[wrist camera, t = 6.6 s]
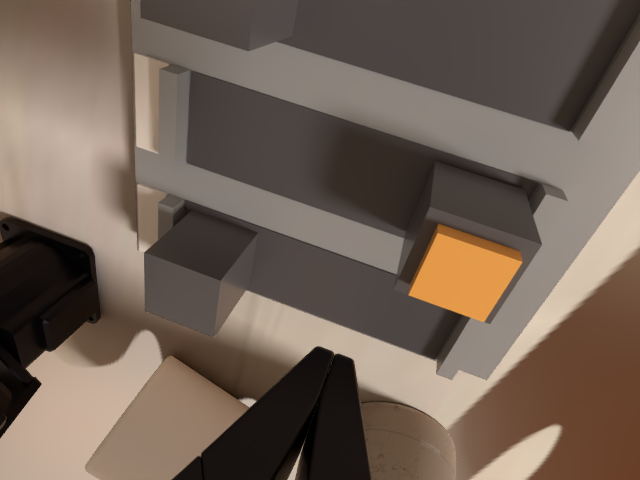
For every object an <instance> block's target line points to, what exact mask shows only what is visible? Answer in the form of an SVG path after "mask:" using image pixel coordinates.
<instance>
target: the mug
mask: <svg viewBox="0 0 640 480" xmlns="http://www.w3.org/2000/svg"><path fill="white" fill-rule="evenodd" d="M248 409H249V407H248V406H246V405H245V404H243V403H242V402H240V401H239V400H237V399H236V398H234V397H233V396H231V395H230V394H228V393H227V392H225V391H224V390H222V389H221V388H219V387H218V386H216V385H215V384H213V383H212V382H210V381H209V380H207V379H206V378H204V377H203V376H201V375H200V374H198V373H197V372H196V371H194V370H193V369H191V368H190V367H188V366H187V365H185V364H184V363H182V362H181V361H179V360H178V359H176V358H175V357H173V356H168V357H167V358H166V359H165V360H164V361H163V362H162V364H161V365H160V366H159V368H158V369H157V370H156V371H155V372H154V374H153V375H152V376H151V378H150V379H149V380H148V382H147V383H146V384H145V386H144V387H143V388H142V389H141V391H140V392H139V393H138V395H137V396H136V397H135V399H134V400H133V401H132V403H131V404H130V405H129V406H128V408H127V409H126V410H125V412H124V413H123V414H122V416H121V417H120V419H119V420H118V421H117V422H116V424H115V425H114V426H113V428H112V429H111V431H110V432H109V434H108V435H107V436H106V438H105V439H104V440H103V441H102V443H101V444H100V445H99V447H98V448H97V450H96V451H95V452H94V454H93V455H92V457H91V458H90V459H89V461H88V462H87V464H86V466H85V469H86V471H87V472H88V473H90V474H91V475H93V476H95V477H96V478H98V479H100V480H171V479H173V478H174V477H175V476H176V475H177V474H178V473H179V472H181V471H182V470H183V469H184V468H185V467H186V466H187V465H188V464H189V463H190V462H192V461H193V460H194V459H195V458H196V457H197V456H200V457H201V453H202V452H203V451H204V450H205V449H206V448H207V447H208V446H209V445H210V444H211V443H212V442H213V441H215V440H216V439H217V438H218V437H219V436H220V435H221V434H222V433H223V432H224V431H225V430H226V429H227V428H229V427H230V426H231V425H232V424H233V423H234V422H235V421H236V420H237V419H238V418H239V417H240V416H242V415H243V414H244V413H245V412H246V411H247V410H248Z"/></svg>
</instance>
